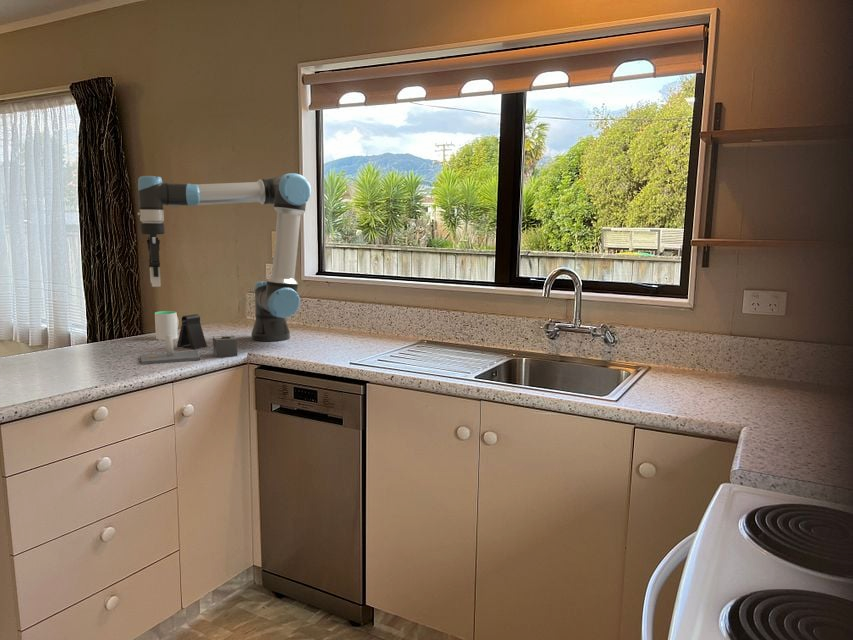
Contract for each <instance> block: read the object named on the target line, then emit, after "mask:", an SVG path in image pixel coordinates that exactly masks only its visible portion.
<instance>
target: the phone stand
mask: <svg viewBox="0 0 853 640" xmlns="http://www.w3.org/2000/svg"><path fill="white" fill-rule="evenodd" d="M177 339H178V340H177V345H176V347H177V348H181V349H188V350H192V351H195V350H197V349H203V348H208V344H207V342H206V338H205V335H204V332H203V327H202V324H201V317H200V315H199V314H196V313H195V314H188V315H183V316H182V317H181V327H180V331H179V334H178V338H177Z"/></svg>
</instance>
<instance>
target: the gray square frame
mask: <svg viewBox="0 0 853 640" xmlns="http://www.w3.org/2000/svg"><path fill="white" fill-rule="evenodd" d="M212 345H213V346H212V347H213V349H212V350H213V352H212V353H213V355H214V356H215V358H225V357H229V358H230V357H237V356H238V339H237V337H235V335H224V336H222V335H221V336H213V337H212Z"/></svg>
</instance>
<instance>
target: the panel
mask: <svg viewBox="0 0 853 640" xmlns="http://www.w3.org/2000/svg"><path fill="white" fill-rule="evenodd" d="M139 355H140V356H139V358H140V362H141V365H150V364H151V365H153V364H165V363H179V362H191V361H192V362H193V361H194V362H195V361H201V356H200V355H199V353H198V352H197V350H190V351H189V350H186V351H185V350H184V351H174V339H173V335H166V340H165V352H157V353H156V352H155V353H143V354H142V353H140V354H139Z"/></svg>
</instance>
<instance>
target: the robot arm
mask: <svg viewBox="0 0 853 640" xmlns="http://www.w3.org/2000/svg"><path fill="white" fill-rule="evenodd" d="M162 179H163V178H162V177H161V176H157V175H156V176H154V175H142V176H140V177H139V178H138V179H137V182H138V183H137V188H138V189H137V191H138V207H139V209H138V210H139V212H137V216H139V221H140V222H141V223H140V226H139V227H140V234H141V235H148V236H147V239H146V246H147V251H148V258H149V259H148V262H149V264H148V267H149V278H150V281H149V282H150V284H151V287H153V288H155V287H158V288H159V287H162V283H161V282H162V280H161V267H160V266H161V262H160V253H159V252H160V246H161V244H160V243H161V241H160V239H159V237H158V235H164V234H165V233H166V232H165V224H164V223H163V222H164V221H165V211H164V206H170V207H173V208H174V207H175V208H176V207H187V206H188V207H192V206H193V207H196V206H197V207H198V206H205V205H206V206H208V205H223V204H225V205H226V204H227V205H228V204H242V203H243V204H244V203H259V204H261V205H273V209H274V210H275V212H276V213H277V214H276V226H275V236H274V246H273V247H274V248H273V257H272V267H271V276H270V277H269V278H268V279H267V280H266V281H257V282H256V283H255V284H254V300H255V301H254V307H255V308H254V309H255V320H254V324H253V327H252V329H251V340H254V341H260V342H277V341H285V340H288V339H290V338H291V332H290V328H289V326H288V323H287V318H290V317H291V316H294V315H295V314H296V313H297V312H298V310H299V308H300V305H301V298H300V295H299V293H298V288H299V283H298V281H297V280H296V278H295V275H296V267H297V257H298V246H299V237H300V227H301V216H302V215H304V214H305V213H306V206H307V202H308V201H309V200H310V197H311V194H312V188H311V187H312V186H311V184H310V182H309V181H308V180H307V178H306V177H304V175H302V174H299V173H294V172H293V173H290V172H289V173H285V174H281V175H277V176H274V177H269V178H261V179H258V180H257V181H250V182H245V181H244V182H228V183H227V182H226V183H225V182H223V183H222V182H221V183H201V184H199V183H198V184H193V183H180V182H179V183H175V182H173V183H169V182H163V180H162Z"/></svg>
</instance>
